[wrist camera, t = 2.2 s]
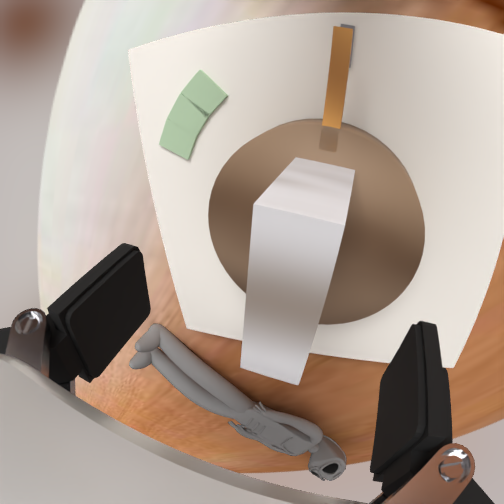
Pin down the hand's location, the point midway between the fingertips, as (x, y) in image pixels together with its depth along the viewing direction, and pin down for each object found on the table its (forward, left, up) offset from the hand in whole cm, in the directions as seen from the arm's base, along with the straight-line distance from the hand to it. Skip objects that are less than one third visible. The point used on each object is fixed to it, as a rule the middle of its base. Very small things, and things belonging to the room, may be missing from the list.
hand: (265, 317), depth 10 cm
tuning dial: (-1, -2, -7) cm, 7 cm away
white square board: (-1, 0, -9) cm, 9 cm away
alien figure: (+5, +21, -9) cm, 23 cm away
